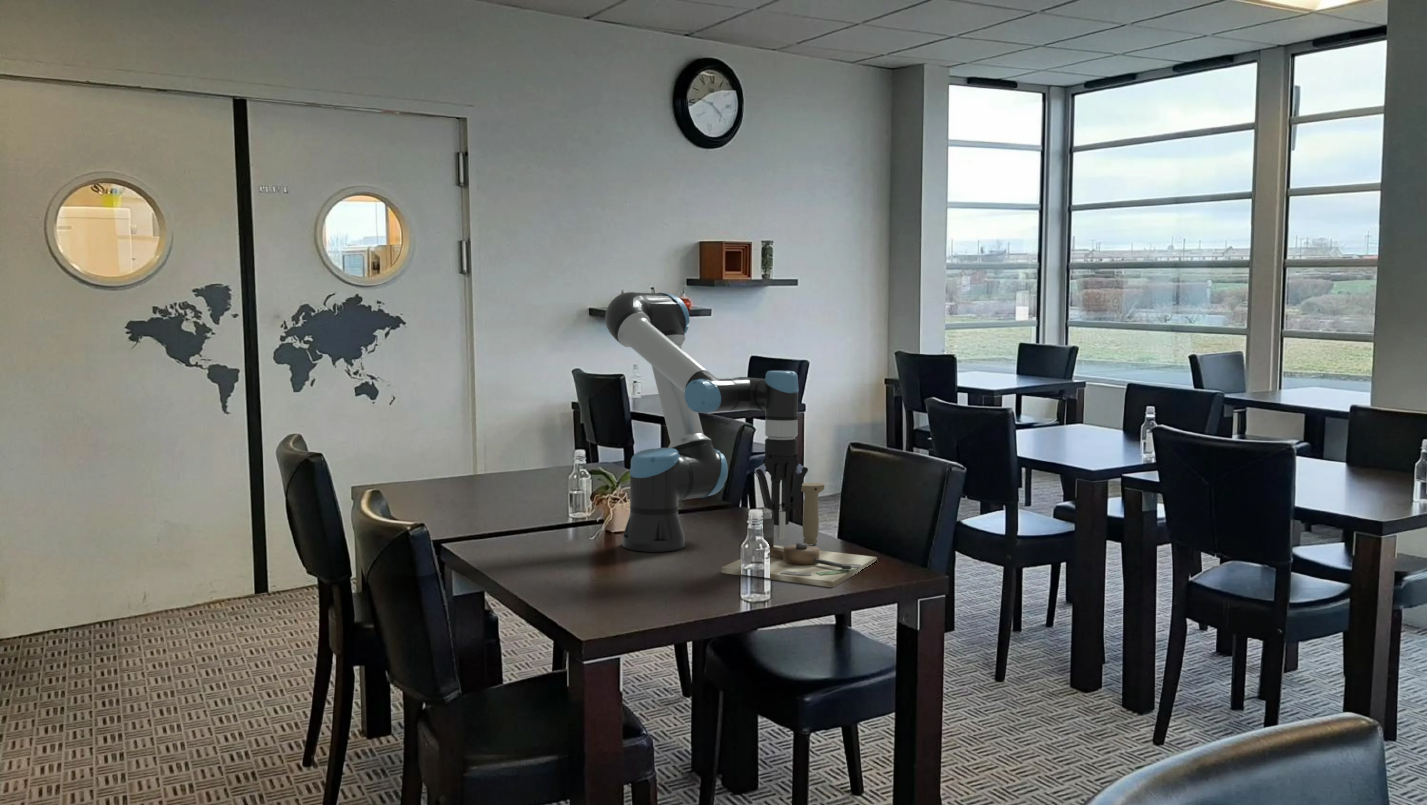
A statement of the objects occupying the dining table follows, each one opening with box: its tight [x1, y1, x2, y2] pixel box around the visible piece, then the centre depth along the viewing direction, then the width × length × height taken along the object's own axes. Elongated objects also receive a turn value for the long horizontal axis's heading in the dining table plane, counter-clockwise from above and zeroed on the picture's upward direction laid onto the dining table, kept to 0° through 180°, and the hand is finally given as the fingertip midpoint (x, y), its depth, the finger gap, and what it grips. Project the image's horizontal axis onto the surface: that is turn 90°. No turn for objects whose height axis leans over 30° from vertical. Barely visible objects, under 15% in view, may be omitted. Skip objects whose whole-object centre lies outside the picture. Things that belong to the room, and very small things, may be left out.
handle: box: [801, 482, 825, 545], centre depth 274 cm, size 5×6×15 cm
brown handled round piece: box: [762, 518, 851, 569], centre depth 248 cm, size 25×8×8 cm, turn 47°
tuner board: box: [720, 544, 878, 588], centre depth 249 cm, size 26×28×1 cm
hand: (780, 538), depth 258 cm, fingers closed
